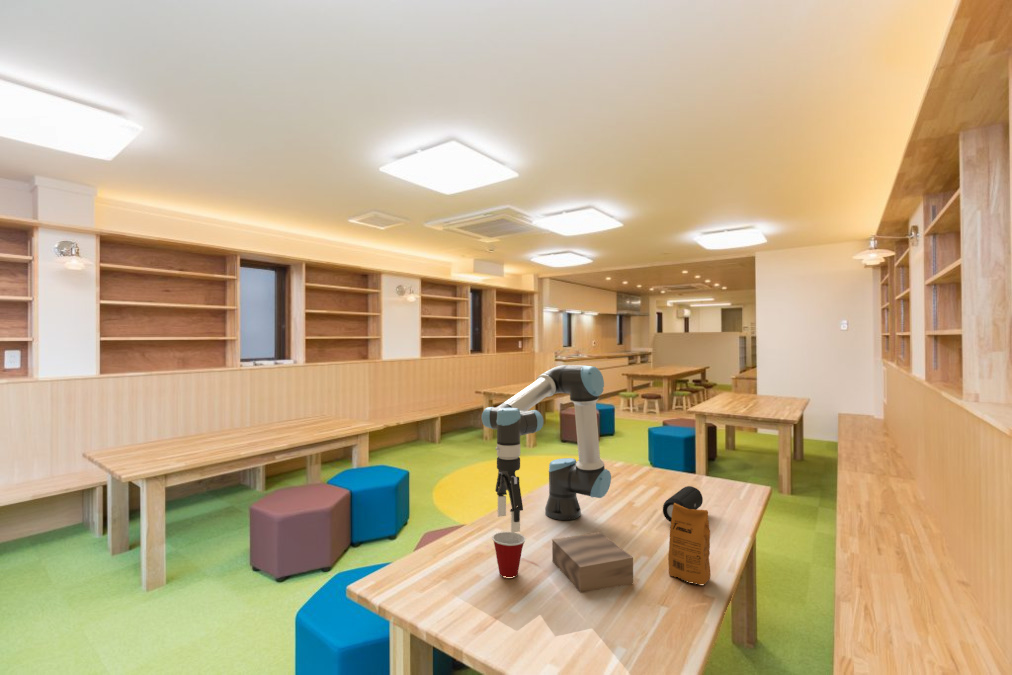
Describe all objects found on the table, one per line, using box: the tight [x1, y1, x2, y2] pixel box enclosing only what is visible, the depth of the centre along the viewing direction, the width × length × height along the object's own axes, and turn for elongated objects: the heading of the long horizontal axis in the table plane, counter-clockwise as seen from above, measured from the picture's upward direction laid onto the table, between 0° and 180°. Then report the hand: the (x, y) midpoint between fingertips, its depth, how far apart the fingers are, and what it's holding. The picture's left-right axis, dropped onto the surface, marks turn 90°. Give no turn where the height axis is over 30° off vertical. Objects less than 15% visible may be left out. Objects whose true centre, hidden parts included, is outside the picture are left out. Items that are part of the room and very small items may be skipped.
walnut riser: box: [551, 531, 634, 593], centre depth 146 cm, size 20×18×8 cm
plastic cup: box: [491, 531, 527, 577], centre depth 146 cm, size 11×11×12 cm
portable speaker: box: [662, 485, 704, 523], centre depth 194 cm, size 26×10×10 cm, turn 140°
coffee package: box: [667, 503, 711, 585], centre depth 144 cm, size 10×12×22 cm
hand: (508, 523), depth 146 cm, fingers open, 13 cm apart
